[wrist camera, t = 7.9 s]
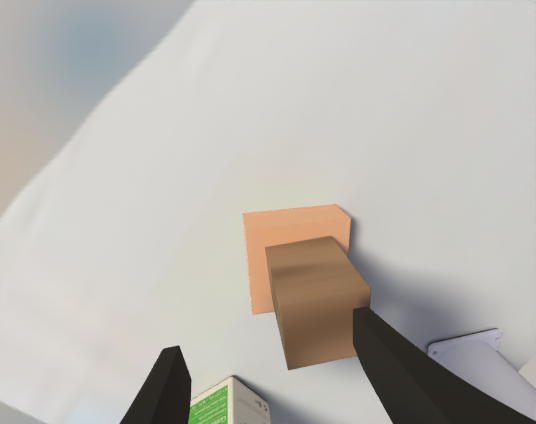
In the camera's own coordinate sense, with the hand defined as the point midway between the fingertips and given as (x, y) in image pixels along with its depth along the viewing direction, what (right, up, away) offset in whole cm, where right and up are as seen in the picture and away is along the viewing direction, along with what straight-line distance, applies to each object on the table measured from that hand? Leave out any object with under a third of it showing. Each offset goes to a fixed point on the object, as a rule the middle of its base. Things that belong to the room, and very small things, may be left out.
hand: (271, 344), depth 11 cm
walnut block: (+2, +1, +8) cm, 8 cm away
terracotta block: (+2, +3, +10) cm, 11 cm away
